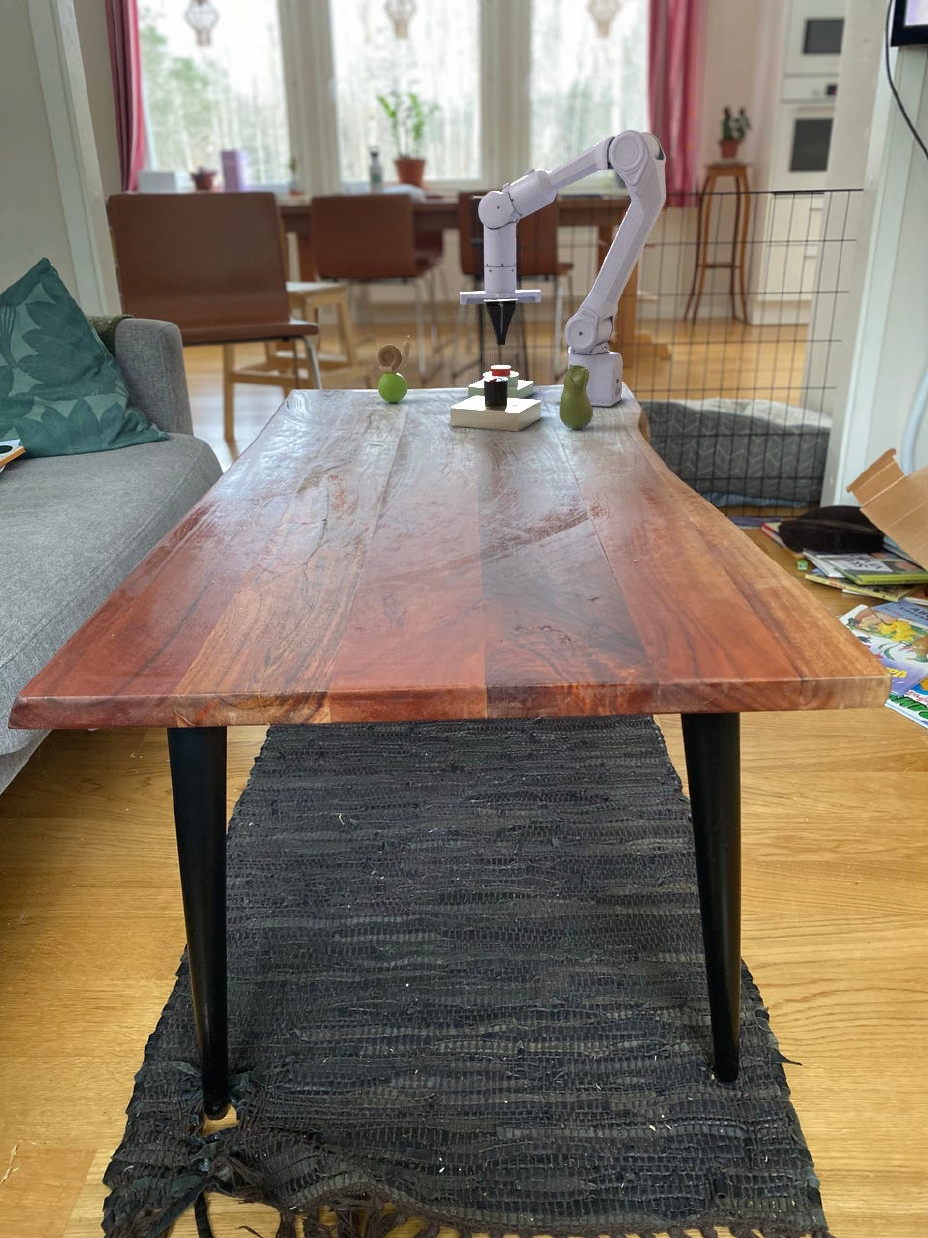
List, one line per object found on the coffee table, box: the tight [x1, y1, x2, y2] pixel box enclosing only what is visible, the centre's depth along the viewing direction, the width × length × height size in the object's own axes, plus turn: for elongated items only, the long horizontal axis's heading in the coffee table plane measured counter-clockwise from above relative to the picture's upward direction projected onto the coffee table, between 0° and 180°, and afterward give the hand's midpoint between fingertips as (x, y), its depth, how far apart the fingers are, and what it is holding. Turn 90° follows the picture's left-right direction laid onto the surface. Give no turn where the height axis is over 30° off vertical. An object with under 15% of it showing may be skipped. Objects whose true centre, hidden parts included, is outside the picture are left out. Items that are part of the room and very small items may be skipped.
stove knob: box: [482, 377, 508, 406], centre depth 154 cm, size 4×4×4 cm
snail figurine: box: [377, 334, 411, 404], centre depth 170 cm, size 5×6×12 cm
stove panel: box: [449, 396, 541, 432], centre depth 155 cm, size 12×10×3 cm
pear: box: [559, 365, 594, 430], centre depth 148 cm, size 6×5×10 cm
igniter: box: [467, 371, 534, 399], centre depth 176 cm, size 10×8×4 cm
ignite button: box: [490, 364, 512, 376], centre depth 175 cm, size 4×4×2 cm
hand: (500, 344), depth 172 cm, fingers closed
